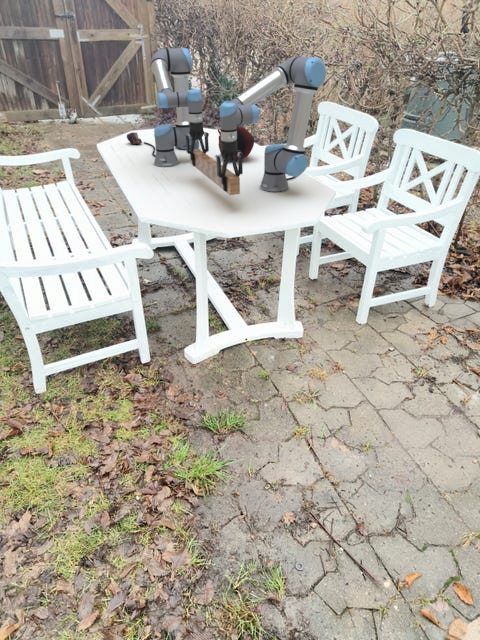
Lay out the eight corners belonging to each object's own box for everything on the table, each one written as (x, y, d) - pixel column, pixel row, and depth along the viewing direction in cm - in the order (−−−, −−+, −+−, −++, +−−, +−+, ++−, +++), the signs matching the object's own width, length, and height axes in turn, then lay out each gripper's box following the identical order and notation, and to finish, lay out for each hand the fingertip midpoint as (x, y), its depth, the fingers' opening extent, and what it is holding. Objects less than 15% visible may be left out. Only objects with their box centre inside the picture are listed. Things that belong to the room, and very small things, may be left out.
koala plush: (199, 150, 322) (197, 120, 311) (174, 150, 321) (171, 121, 310) (199, 144, 336) (197, 116, 325) (175, 144, 335) (172, 116, 324)
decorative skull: (215, 132, 306) (215, 129, 282) (249, 124, 305) (251, 121, 281) (222, 164, 313) (222, 164, 289) (255, 157, 312) (258, 156, 288)
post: (191, 164, 261) (190, 149, 256) (199, 162, 262) (198, 148, 258) (230, 195, 216) (229, 178, 211) (239, 193, 217) (239, 177, 213)
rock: (138, 143, 345) (126, 144, 341) (137, 131, 341) (124, 132, 337) (143, 144, 336) (130, 145, 331) (141, 131, 332) (128, 132, 328)
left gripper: (182, 124, 238) (185, 169, 251) (214, 121, 243) (215, 165, 257) (177, 121, 243) (181, 165, 257) (209, 118, 249) (211, 161, 262)
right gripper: (213, 144, 202) (216, 195, 215) (250, 139, 208) (250, 189, 221) (207, 140, 208) (210, 190, 221) (243, 136, 213) (244, 184, 227)
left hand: (198, 165), depth 257 cm, fingers closed on post, 5 cm apart
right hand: (230, 189), depth 221 cm, fingers closed on post, 5 cm apart
